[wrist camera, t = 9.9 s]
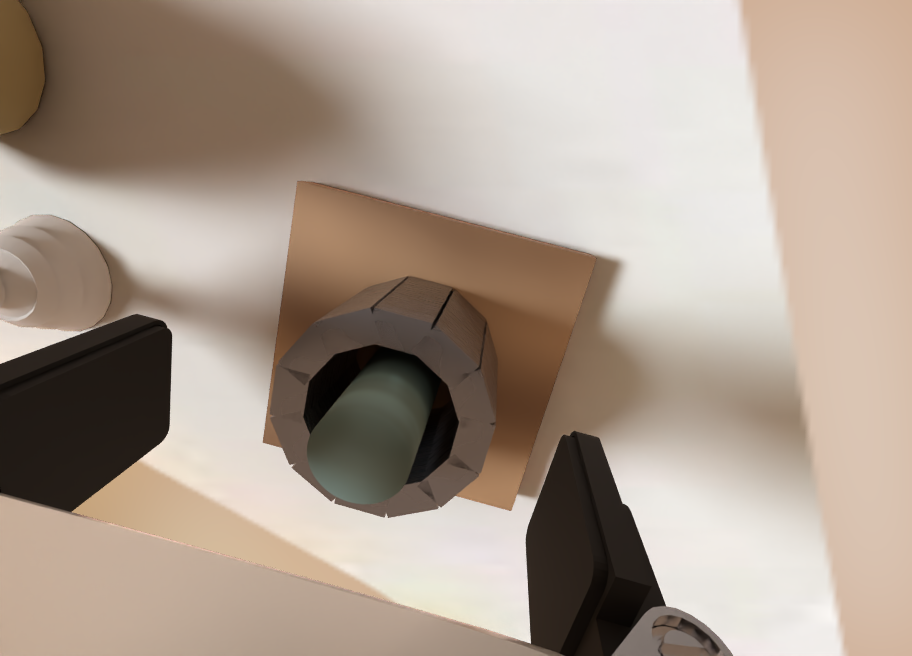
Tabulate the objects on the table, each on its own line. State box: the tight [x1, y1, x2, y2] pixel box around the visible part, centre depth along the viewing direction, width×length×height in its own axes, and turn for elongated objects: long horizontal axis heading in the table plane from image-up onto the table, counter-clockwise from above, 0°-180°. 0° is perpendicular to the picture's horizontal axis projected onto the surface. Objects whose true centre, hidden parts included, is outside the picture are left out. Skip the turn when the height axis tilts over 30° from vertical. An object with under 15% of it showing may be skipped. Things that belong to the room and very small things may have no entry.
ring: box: [269, 276, 498, 518], centre depth 15 cm, size 6×6×5 cm
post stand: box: [263, 181, 597, 511], centre depth 15 cm, size 11×11×8 cm
